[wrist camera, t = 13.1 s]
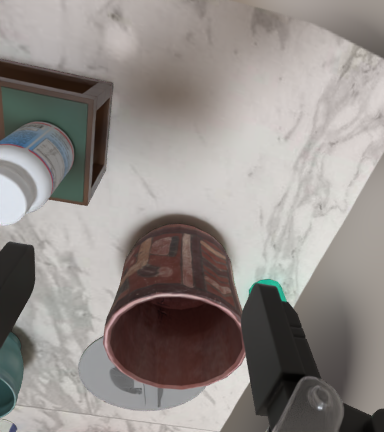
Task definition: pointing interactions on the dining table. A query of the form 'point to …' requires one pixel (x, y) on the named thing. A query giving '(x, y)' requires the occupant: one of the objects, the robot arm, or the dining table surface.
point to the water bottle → (7, 426)
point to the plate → (126, 384)
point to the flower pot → (10, 373)
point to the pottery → (176, 311)
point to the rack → (61, 119)
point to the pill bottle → (31, 168)
